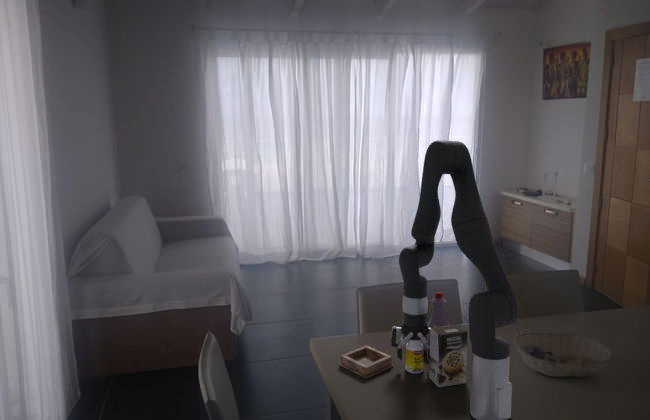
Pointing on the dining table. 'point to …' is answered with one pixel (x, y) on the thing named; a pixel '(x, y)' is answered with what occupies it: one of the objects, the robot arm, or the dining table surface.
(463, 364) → the coffee box
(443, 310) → the flask
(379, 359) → the walnut collar stand
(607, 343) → the dining table surface
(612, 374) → the dining table surface
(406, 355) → the supplement bottle
